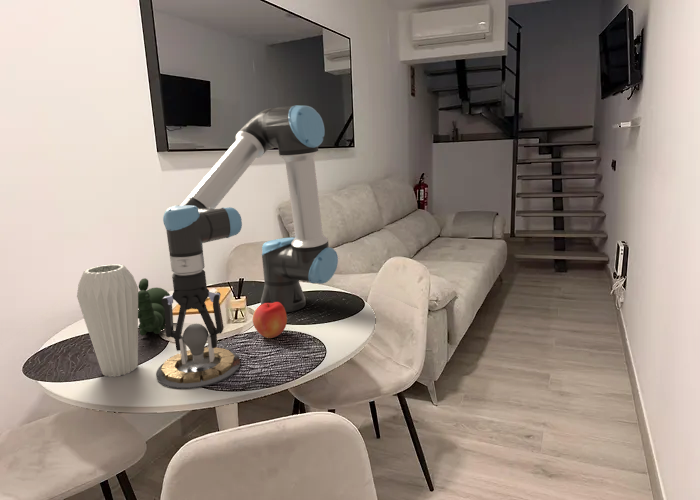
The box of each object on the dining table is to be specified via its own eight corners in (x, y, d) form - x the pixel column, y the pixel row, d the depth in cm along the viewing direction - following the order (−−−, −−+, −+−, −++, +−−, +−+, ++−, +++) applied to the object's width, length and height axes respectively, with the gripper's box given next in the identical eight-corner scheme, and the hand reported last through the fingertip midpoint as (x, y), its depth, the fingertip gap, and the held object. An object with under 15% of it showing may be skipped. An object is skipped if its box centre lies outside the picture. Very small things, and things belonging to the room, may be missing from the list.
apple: (287, 328, 142) (285, 296, 140) (288, 341, 133) (286, 307, 131) (254, 331, 141) (251, 299, 138) (253, 344, 132) (250, 310, 129)
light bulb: (203, 368, 115) (199, 329, 113) (181, 366, 116) (176, 328, 114) (215, 357, 121) (211, 320, 118) (193, 356, 122) (189, 319, 119)
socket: (168, 354, 127) (167, 348, 127) (243, 348, 129) (243, 342, 129) (145, 392, 108) (144, 385, 108) (235, 384, 110) (234, 377, 110)
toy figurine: (166, 345, 137) (177, 309, 160) (157, 284, 131) (169, 256, 155) (132, 349, 135) (147, 312, 158) (121, 287, 129) (138, 258, 153)
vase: (87, 387, 111) (69, 279, 105) (92, 364, 123) (76, 266, 117) (149, 375, 116) (134, 271, 110) (148, 353, 128) (135, 259, 122)
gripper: (142, 278, 108) (155, 370, 114) (226, 272, 110) (235, 364, 116) (151, 269, 116) (163, 357, 121) (230, 264, 118) (238, 351, 123)
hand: (198, 360), depth 118 cm, fingers closed on light bulb, 6 cm apart
